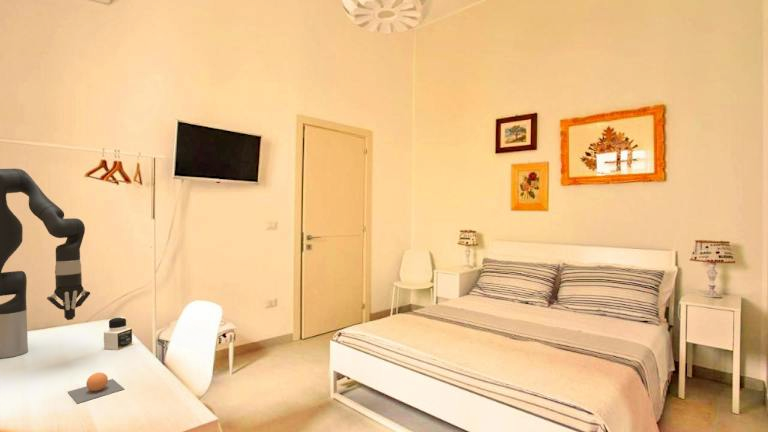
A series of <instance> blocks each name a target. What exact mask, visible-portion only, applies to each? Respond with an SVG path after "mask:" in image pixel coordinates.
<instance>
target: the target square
mask: <svg viewBox="0 0 768 432" xmlns="http://www.w3.org/2000/svg"><path fill="white" fill-rule="evenodd" d="M124 390H125V388H124V387H123V386H122V385H120V383H118V382H117V381H116V380H115V379H114V378H112V379H111V378H110V379H108V382H107V385H106V386H105V387H104V388H103V389H102V390H100V391H90V390H89V389H88V388H87V386H82V387H79V388H76V389H72V390H69V391H67V393H68V394H69V396H70V397H71V398H72V399H73V400H74V401H75V404H77V405H79V404H81V403H85V402H88V401H92V400H94V399H98V398H101V397H104V396H108V395H111V394H114V393H117V392H120V391H124Z"/></svg>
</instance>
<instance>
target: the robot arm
mask: <svg viewBox="0 0 768 432" xmlns="http://www.w3.org/2000/svg"><path fill="white" fill-rule="evenodd" d="M15 193H16V194H18V193H23V194H24V195H26V196H27V197H28V208H29V210H30V212H31V213H32V214H33V215H34V216H36V217H37V219H39V220H40V221H41V222H42V223H43V225H44V227H45V229H46V231H47V232H48V234H49V235H50V236H52V237H54V238H56V239H57V238H58V239H66V240H65V242H64V243H61V244H59V245H56V247H55V266H54V267H55V268H54V269H55V270H54V275H55V289H54V291H53V293H52V294H51V295H50V296H47V297H46V300H47V301H49V302H50V304H52V305H54V307H56V308H57V309H59V310H63V311H64V314H63V315H64V319H66V320H67V321H71V320H74V318H75V317H76V308H79V307H81V306H82V305H83V304H84V303H85V301H86V300H87V299H88V297H89V296H90V295H91V292H90V291H87V290H85V289H84V287H83V282H82V278H83V277H82V276H83V275H82V263H81V247H82V246H81V245H82V244H83V240H84V239H83V238H84V235H85V232H86V228H85V224H84V222H83V220H81V219H79V218H74V217H73V218H64V217H65V213H64V210H62V208H60V207H59V206H58V205H57V204H55V203H54V201H52V200H50V198H49V197H48V196H47V195H45V193H43V191H42V189H41V187H39V186H38V184H37V183H36V181H35V180H34V179H33V177H31V176H30V174H28V173H27V172H26V171H25V170H23V169H21V168H0V297H3V296H5V297H6V296H11V295H13V296H14V297H12V298H11V299H10V300H8V301H5V302H3V303H0V359H7V358H12V357H13V358H14V357H17V356H21V355H24V354H26V353H27V352H28V350H29V348H28V343H29V342H28V340H29V339H28V313H27V312H28V311H27V310H28V309H27V283H28V281H27V274H26V273H25V271H22V270H17V271H16V270H15V271H5V272H2V271H3V268H4V266H5V264H6V263H7V261H8V260H9V259H10V257H11V256H13V254H14V253H15V252H16V251H17V250H18V248H19V247H20V246H21V245H22V243H23V235H24V233H23V224H22V222H21V221H20V219H19V218H18V217H17V216H16V215H15V214H14V213H13V212H12V210H11V209H10V208H9V206H8V201H7V195H8V194H15ZM78 297H79V299H78ZM58 298H59V299H60V300H61V301H62V304H61V303H60V302H58V301H57V300H58Z"/></svg>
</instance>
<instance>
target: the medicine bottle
mask: <svg viewBox="0 0 768 432" xmlns="http://www.w3.org/2000/svg"><path fill="white" fill-rule="evenodd" d="M132 345H133V327H127V318H126V317H123V316H120V317H113V318H111V319H109V320H108V330H106V331H104V332H103V349H104V350H111V351H112V350H113V351H114V350H115V351H119V350H122V349H124V348H127V347H128V346H132Z"/></svg>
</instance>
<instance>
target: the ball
mask: <svg viewBox="0 0 768 432" xmlns="http://www.w3.org/2000/svg"><path fill="white" fill-rule="evenodd" d="M108 380H109V378H108V376H107V374H105V373H104V372H95V373H92V374H91V375H90V376H89V377H88V378H87V380H86V383H85V384H86V386H87V388H88V389H89V390H90V391H100V390H102V389H103V388H104V387H105V386H106V385H107V382H108ZM86 386H85V387H86Z"/></svg>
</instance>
